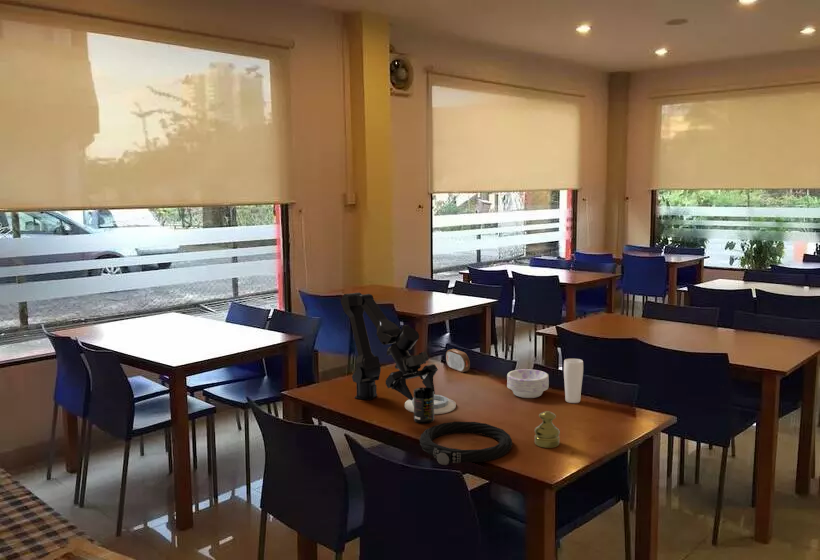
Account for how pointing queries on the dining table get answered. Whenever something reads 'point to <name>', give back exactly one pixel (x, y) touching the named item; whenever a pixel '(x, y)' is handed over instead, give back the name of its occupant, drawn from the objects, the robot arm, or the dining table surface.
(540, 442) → the gold tapered knobbed piece
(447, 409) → the round tray
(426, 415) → the supplement container
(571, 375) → the drinking glass
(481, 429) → the cable lock
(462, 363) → the tin
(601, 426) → the dining table surface
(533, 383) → the paper bowls
